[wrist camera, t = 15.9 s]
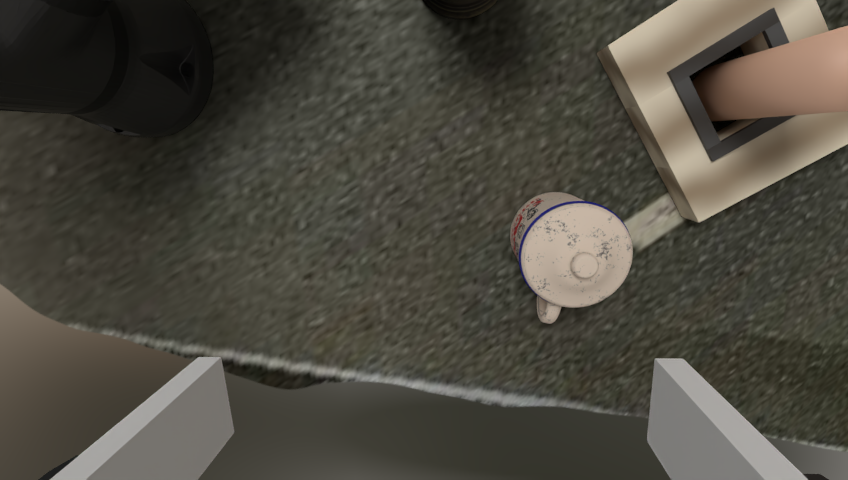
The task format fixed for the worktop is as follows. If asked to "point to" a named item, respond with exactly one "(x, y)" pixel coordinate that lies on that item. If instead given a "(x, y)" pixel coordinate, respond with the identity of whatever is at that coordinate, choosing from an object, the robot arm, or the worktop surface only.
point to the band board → (685, 114)
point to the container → (459, 7)
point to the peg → (779, 80)
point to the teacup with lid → (569, 251)
